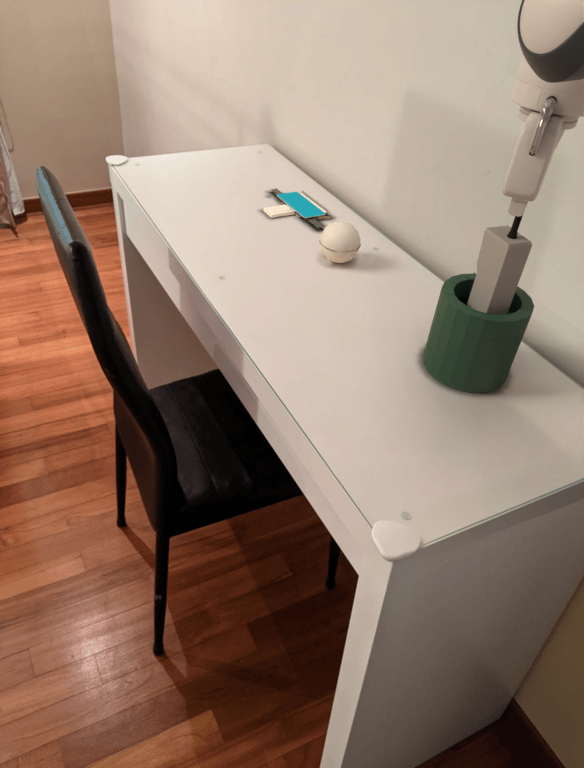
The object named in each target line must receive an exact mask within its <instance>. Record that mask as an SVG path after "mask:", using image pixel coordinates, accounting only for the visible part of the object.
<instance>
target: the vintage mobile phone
mask: <svg viewBox="0 0 584 768" xmlns="http://www.w3.org/2000/svg"><path fill="white" fill-rule="evenodd" d="M523 216H524V214H523V215H522V216H521V217H517V216H514V218H513V221H512V225H511V226H509V225H508V224H507V225H499V226H490V227H485V229H484V232H483V236H482V240H481V245H480V249H479V253H478V257H477V260H476V273H475V274H476V277H475V281H474V284H473V287H472V290H471V293H470V297H469V300H468V303H467V306H468V307H470V308H472V309H474V310H477V311H481V312H484V313H487V314H495V315H505V314H507V313H508V310H509V308H510V305H511V302H512V299H513V297H514V294H515V291H516V288H517V286H518V287H519V282H520V280H521V277H522V275H523V273H524V269H525V266H526V264H527V261H528V259H529V256H530V253H531V250H532V247H533V242H532V241H531V240H530V239H528V238H527V237H525V236H524V235H522V234H521V233H519V232H518V231H519V228H520V225H521V223H522V219H523Z"/></svg>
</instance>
